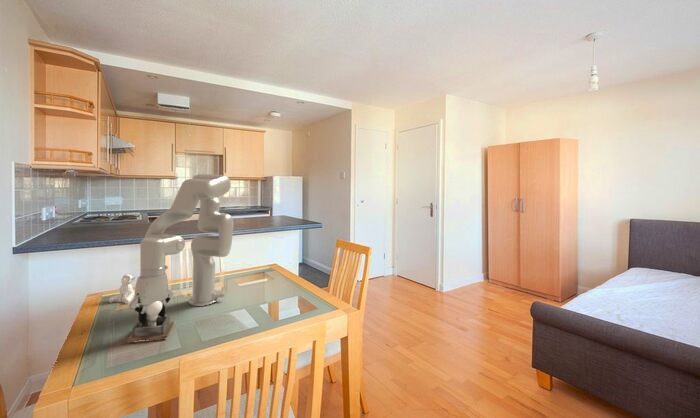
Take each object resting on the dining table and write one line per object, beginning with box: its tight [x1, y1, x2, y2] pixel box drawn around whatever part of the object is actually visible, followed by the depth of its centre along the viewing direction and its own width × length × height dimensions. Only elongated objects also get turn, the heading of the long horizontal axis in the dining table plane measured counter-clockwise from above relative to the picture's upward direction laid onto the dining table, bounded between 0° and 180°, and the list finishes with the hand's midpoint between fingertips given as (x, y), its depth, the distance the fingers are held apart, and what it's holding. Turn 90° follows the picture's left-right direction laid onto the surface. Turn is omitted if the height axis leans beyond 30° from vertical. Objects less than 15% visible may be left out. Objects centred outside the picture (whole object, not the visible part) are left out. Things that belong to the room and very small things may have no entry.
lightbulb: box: [145, 301, 162, 327], centre depth 114 cm, size 6×6×11 cm
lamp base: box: [126, 315, 175, 344], centre depth 115 cm, size 12×12×4 cm
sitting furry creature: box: [108, 274, 136, 305], centre depth 144 cm, size 10×9×12 cm
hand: (152, 319), depth 115 cm, fingers closed on lightbulb, 6 cm apart
